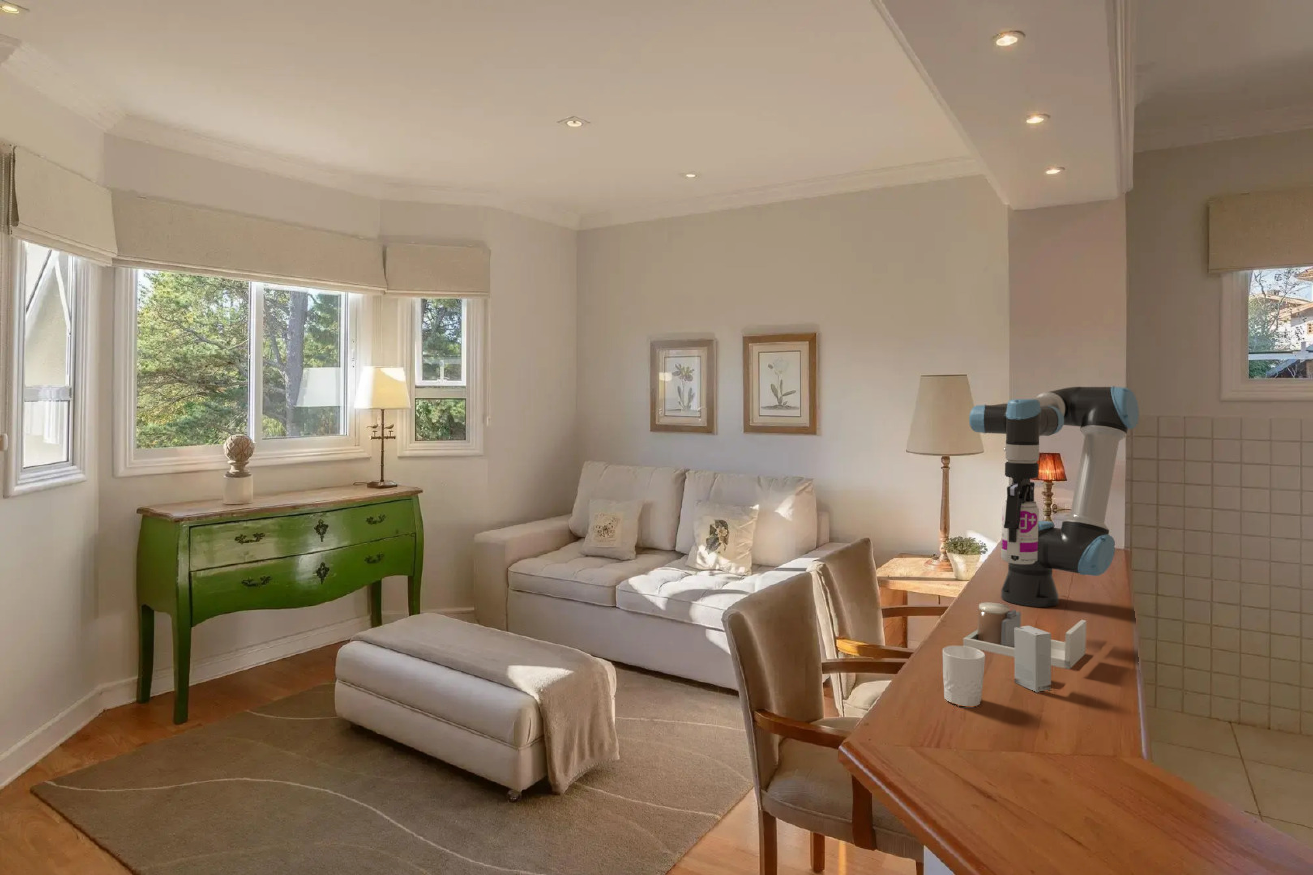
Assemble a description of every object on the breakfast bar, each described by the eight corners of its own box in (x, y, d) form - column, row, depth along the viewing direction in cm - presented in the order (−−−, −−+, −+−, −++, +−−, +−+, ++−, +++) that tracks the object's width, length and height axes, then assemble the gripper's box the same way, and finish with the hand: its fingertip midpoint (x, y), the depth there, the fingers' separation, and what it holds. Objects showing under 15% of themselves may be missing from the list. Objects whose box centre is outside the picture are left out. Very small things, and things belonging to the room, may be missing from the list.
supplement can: (1041, 565, 191) (1043, 504, 190) (1005, 564, 193) (1006, 503, 192) (1032, 558, 199) (1034, 499, 198) (997, 557, 201) (999, 498, 200)
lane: (982, 637, 196) (983, 602, 195) (1084, 658, 180) (1086, 620, 180) (962, 650, 186) (963, 613, 185) (1069, 674, 171) (1070, 634, 170)
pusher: (1015, 640, 189) (1016, 606, 188) (1020, 640, 188) (1021, 607, 188) (1000, 651, 181) (1001, 616, 181) (1005, 651, 181) (1006, 617, 180)
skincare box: (1052, 690, 162) (1053, 633, 161) (1035, 693, 160) (1037, 635, 159) (1028, 680, 168) (1030, 624, 167) (1012, 682, 166) (1013, 626, 165)
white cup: (982, 696, 159) (983, 647, 158) (985, 711, 152) (986, 660, 151) (941, 691, 162) (942, 643, 161) (941, 705, 154) (942, 656, 154)
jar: (983, 636, 192) (984, 600, 192) (1013, 642, 188) (1014, 605, 187) (972, 643, 187) (973, 606, 187) (1003, 650, 183) (1004, 612, 182)
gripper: (1019, 457, 204) (1016, 543, 206) (991, 463, 189) (988, 556, 190) (1050, 459, 199) (1047, 547, 201) (1024, 465, 184) (1021, 561, 185)
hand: (1019, 551), depth 196 cm, fingers closed on supplement can, 8 cm apart
